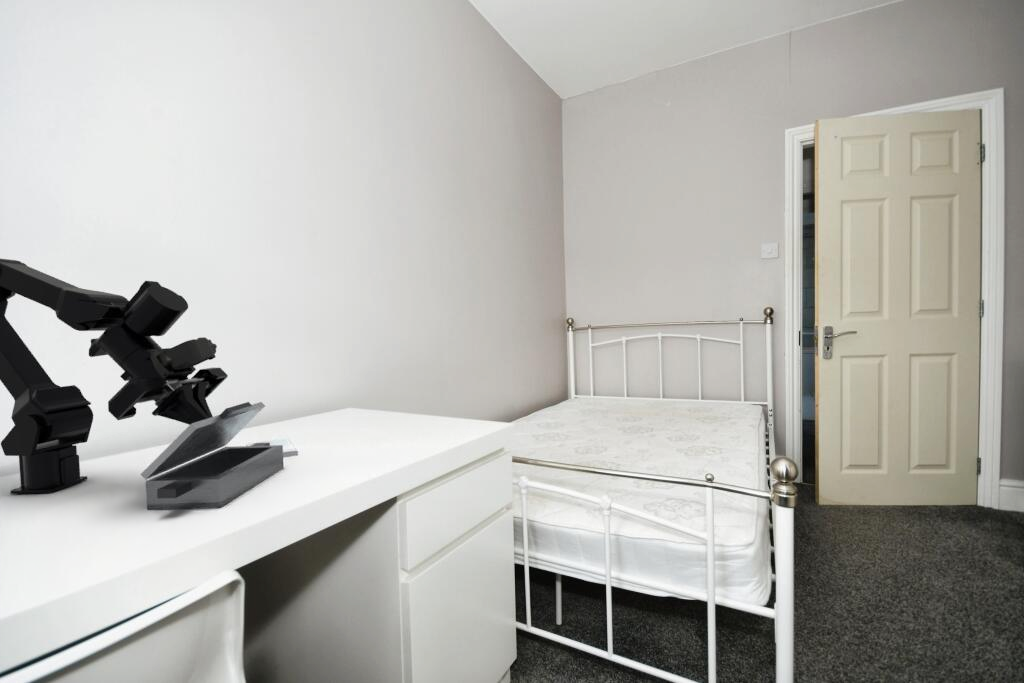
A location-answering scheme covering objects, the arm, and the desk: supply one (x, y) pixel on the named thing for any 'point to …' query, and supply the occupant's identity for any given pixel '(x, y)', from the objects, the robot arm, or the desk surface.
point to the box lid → (203, 437)
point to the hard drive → (287, 446)
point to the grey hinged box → (214, 477)
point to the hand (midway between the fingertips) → (213, 428)
